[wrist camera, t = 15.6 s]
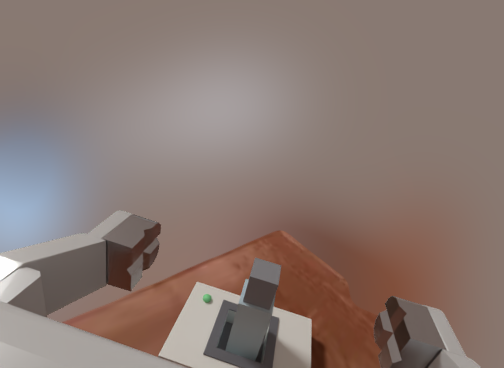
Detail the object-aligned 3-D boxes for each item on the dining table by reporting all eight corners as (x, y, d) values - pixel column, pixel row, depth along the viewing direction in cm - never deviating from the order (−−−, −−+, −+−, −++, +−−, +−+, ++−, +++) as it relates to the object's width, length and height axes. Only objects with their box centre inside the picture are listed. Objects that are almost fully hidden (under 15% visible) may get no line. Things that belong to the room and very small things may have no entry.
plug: (258, 338, 40) (284, 264, 34) (253, 366, 36) (281, 288, 30) (231, 329, 40) (252, 254, 34) (223, 356, 37) (245, 277, 30)
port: (305, 332, 43) (312, 317, 42) (302, 423, 32) (311, 407, 31) (194, 295, 45) (197, 279, 43) (156, 370, 34) (158, 353, 32)
